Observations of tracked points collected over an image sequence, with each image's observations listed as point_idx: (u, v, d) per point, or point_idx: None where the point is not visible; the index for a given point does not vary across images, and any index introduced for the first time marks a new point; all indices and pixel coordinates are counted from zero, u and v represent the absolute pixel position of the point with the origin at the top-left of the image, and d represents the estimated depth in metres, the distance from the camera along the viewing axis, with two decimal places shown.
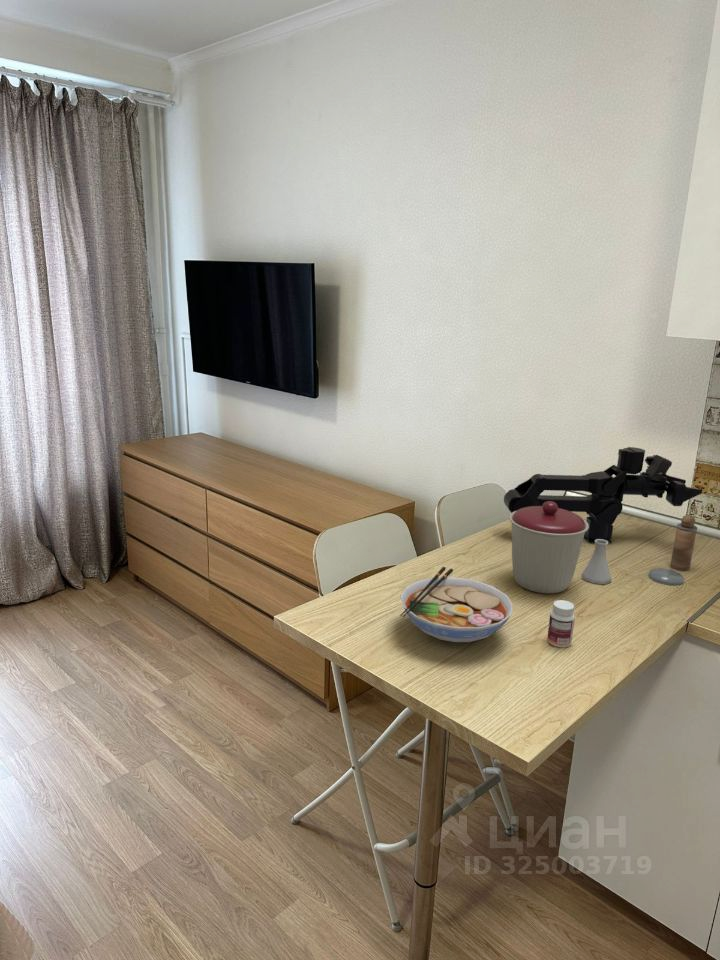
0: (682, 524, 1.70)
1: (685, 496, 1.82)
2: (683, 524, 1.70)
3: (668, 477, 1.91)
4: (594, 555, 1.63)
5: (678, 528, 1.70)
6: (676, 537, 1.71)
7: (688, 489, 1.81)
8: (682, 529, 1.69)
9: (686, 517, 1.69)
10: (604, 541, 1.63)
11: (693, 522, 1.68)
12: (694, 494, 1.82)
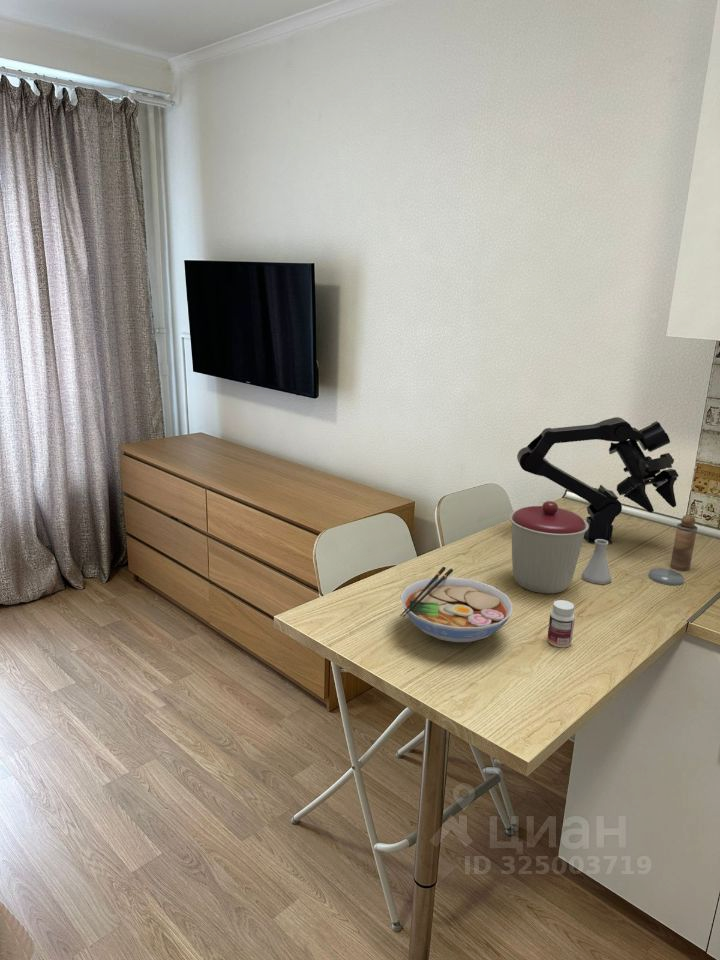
0: (682, 524, 1.70)
1: (636, 497, 1.76)
2: (683, 524, 1.70)
3: (668, 488, 1.79)
4: (594, 555, 1.63)
5: (678, 528, 1.70)
6: (676, 537, 1.71)
7: (641, 495, 1.74)
8: (682, 529, 1.69)
9: (686, 517, 1.69)
10: (604, 541, 1.63)
11: (693, 522, 1.68)
12: (644, 505, 1.75)
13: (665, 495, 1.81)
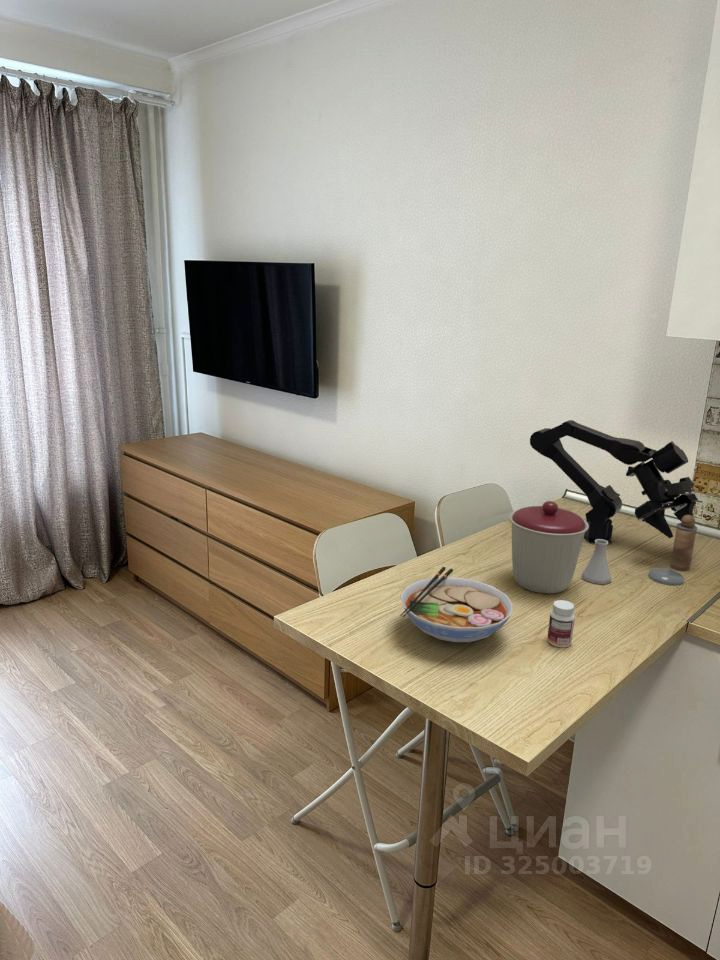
0: (682, 524, 1.70)
1: (654, 522, 1.72)
2: (682, 524, 1.70)
3: (687, 512, 1.75)
4: (594, 555, 1.63)
5: (678, 528, 1.70)
6: (676, 537, 1.71)
7: (660, 520, 1.70)
8: (682, 529, 1.69)
9: (686, 517, 1.69)
10: (604, 541, 1.63)
11: (693, 522, 1.68)
12: (663, 530, 1.71)
13: None
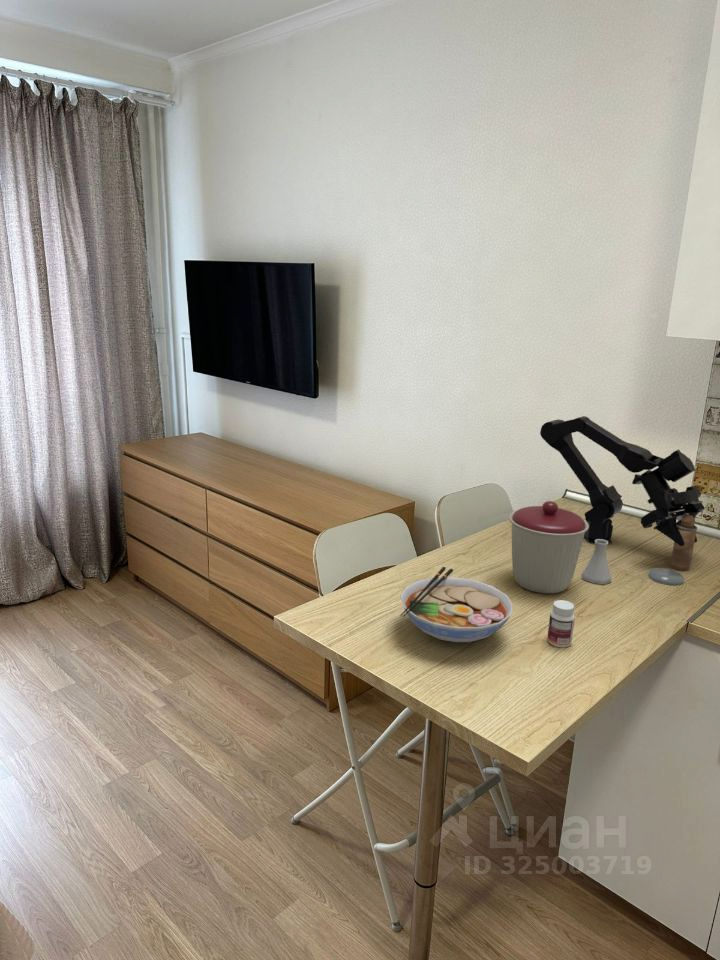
0: (682, 524, 1.70)
1: (666, 530, 1.71)
2: (682, 524, 1.70)
3: None
4: (594, 555, 1.63)
5: (678, 528, 1.70)
6: None
7: (672, 528, 1.69)
8: (682, 529, 1.69)
9: (686, 517, 1.69)
10: (604, 541, 1.63)
11: (693, 522, 1.68)
12: (674, 538, 1.70)
13: None
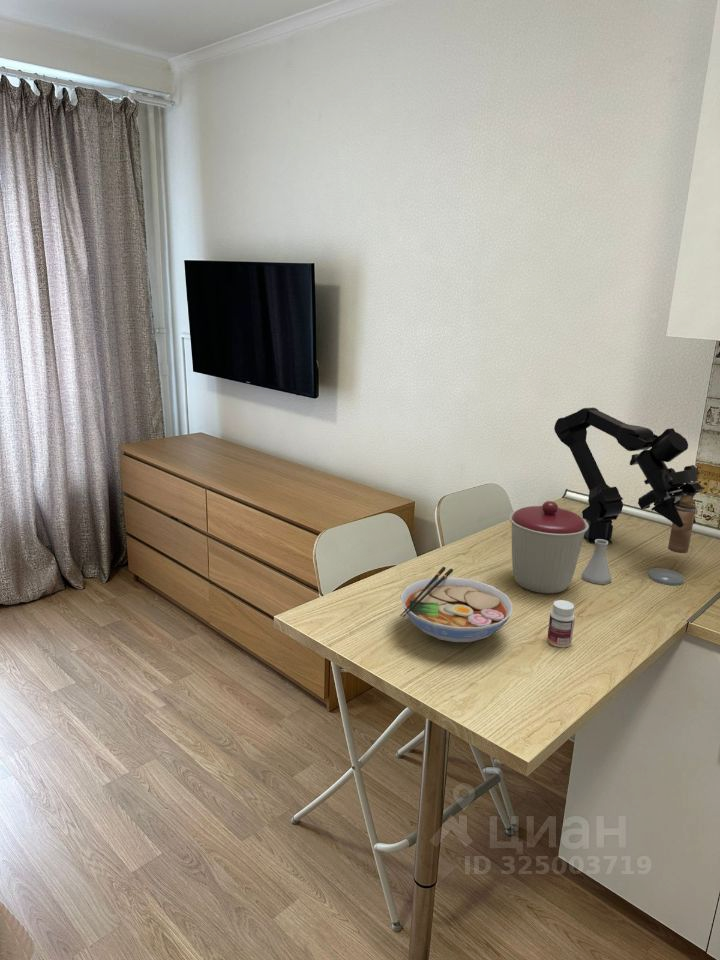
0: (680, 504, 1.64)
1: (664, 511, 1.66)
2: (681, 504, 1.64)
3: None
4: (594, 555, 1.63)
5: None
6: None
7: (671, 509, 1.64)
8: (681, 510, 1.64)
9: (685, 497, 1.64)
10: (604, 541, 1.63)
11: (692, 502, 1.63)
12: (672, 519, 1.65)
13: None
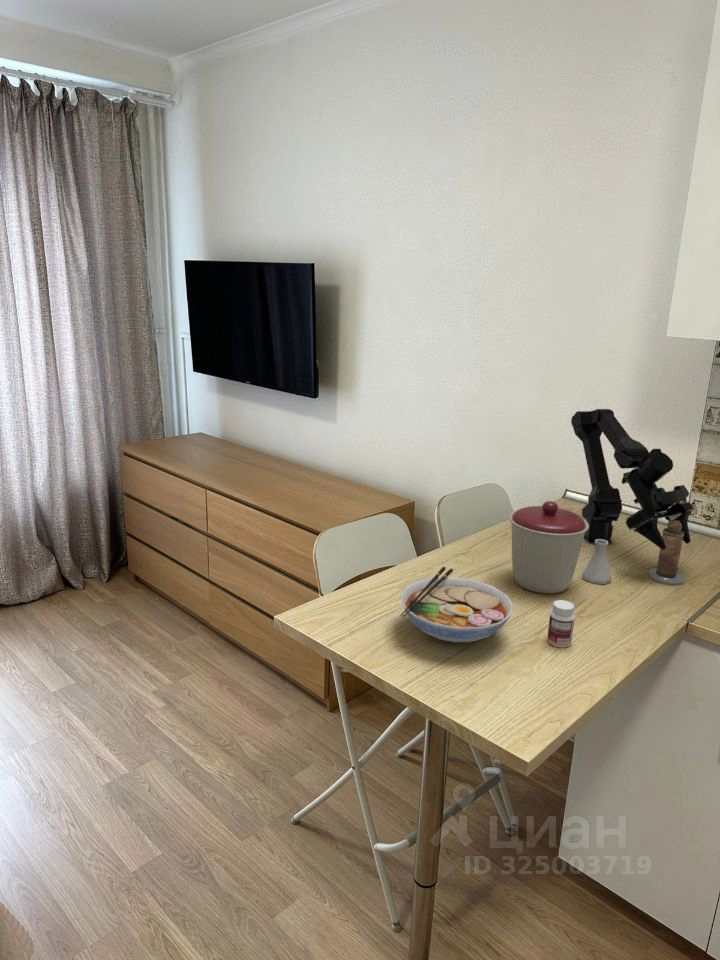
0: (668, 529, 1.63)
1: (647, 533, 1.63)
2: (669, 529, 1.63)
3: (682, 522, 1.66)
4: (594, 555, 1.63)
5: (664, 533, 1.63)
6: None
7: (653, 530, 1.61)
8: (668, 534, 1.62)
9: (672, 522, 1.62)
10: (604, 541, 1.63)
11: (680, 527, 1.61)
12: (655, 541, 1.62)
13: None
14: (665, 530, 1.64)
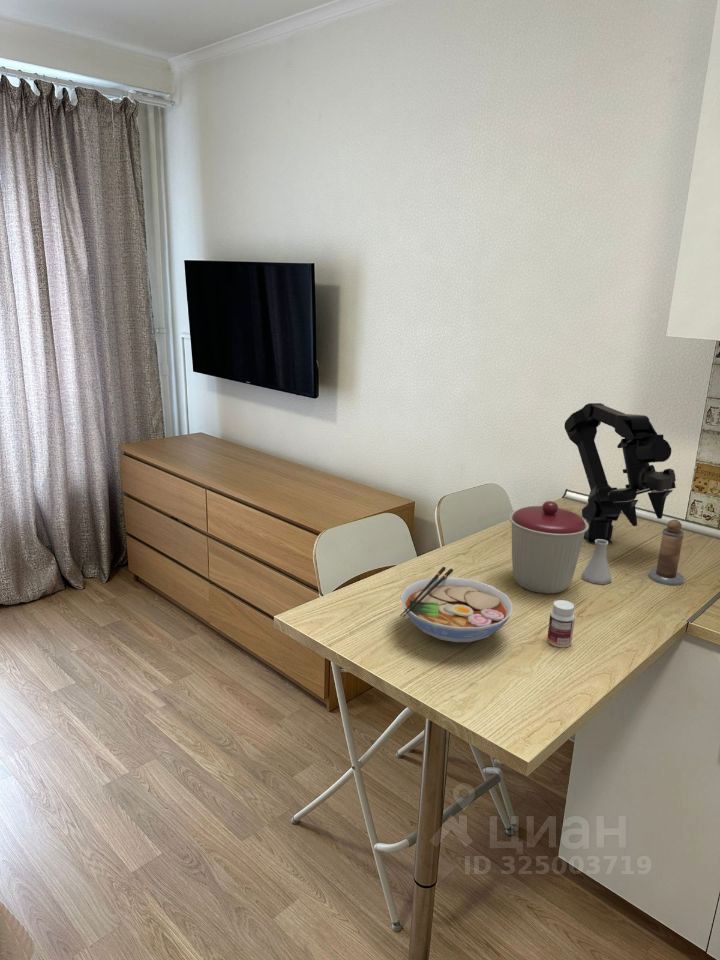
0: (668, 529, 1.63)
1: (624, 507, 1.72)
2: (669, 529, 1.63)
3: (660, 499, 1.74)
4: (594, 555, 1.63)
5: (664, 533, 1.63)
6: (662, 543, 1.64)
7: (630, 509, 1.70)
8: (668, 534, 1.62)
9: (672, 522, 1.62)
10: (604, 541, 1.63)
11: (679, 527, 1.61)
12: (629, 517, 1.72)
13: (655, 504, 1.76)
14: (665, 530, 1.64)
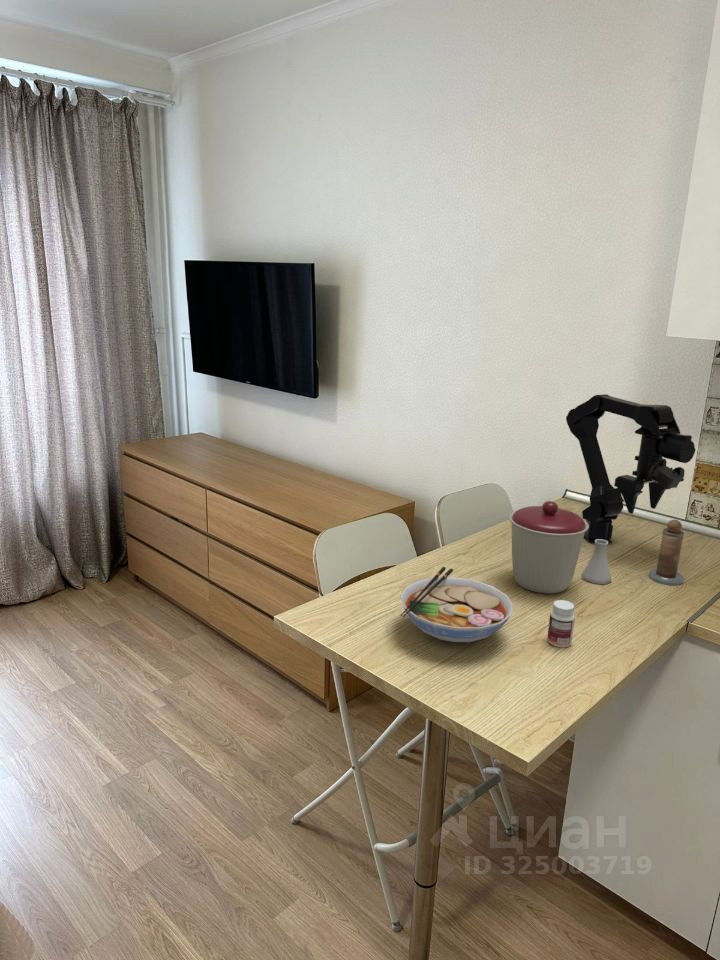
0: (668, 529, 1.63)
1: (626, 494, 1.73)
2: (669, 529, 1.63)
3: (660, 491, 1.76)
4: (594, 555, 1.63)
5: (664, 533, 1.63)
6: (662, 543, 1.64)
7: (632, 498, 1.71)
8: (668, 534, 1.62)
9: (672, 522, 1.62)
10: (604, 541, 1.63)
11: (679, 527, 1.61)
12: (627, 504, 1.73)
13: (653, 493, 1.78)
14: (665, 530, 1.64)
